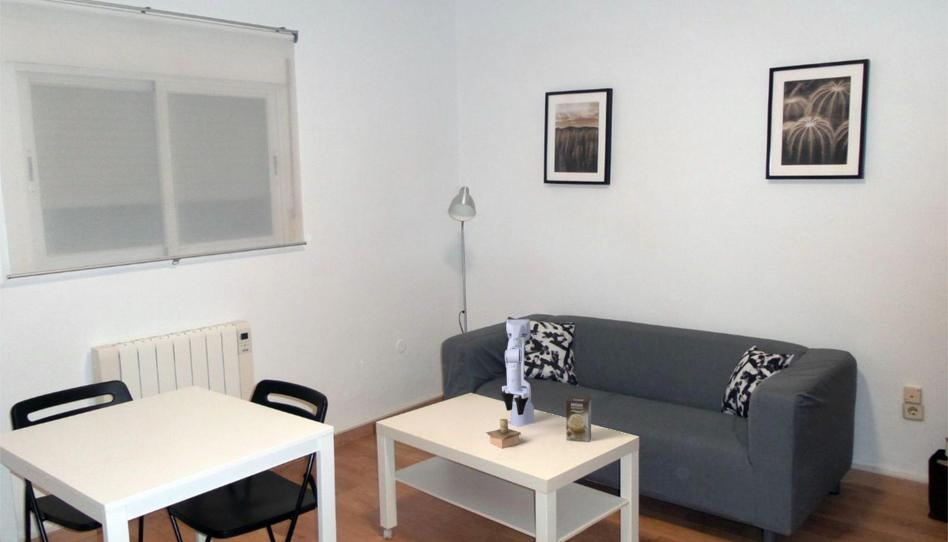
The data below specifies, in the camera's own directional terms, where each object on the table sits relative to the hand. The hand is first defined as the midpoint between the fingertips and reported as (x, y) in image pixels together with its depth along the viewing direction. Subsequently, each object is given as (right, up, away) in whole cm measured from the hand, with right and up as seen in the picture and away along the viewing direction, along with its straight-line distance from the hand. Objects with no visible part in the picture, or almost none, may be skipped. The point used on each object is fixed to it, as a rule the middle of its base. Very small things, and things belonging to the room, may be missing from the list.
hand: (514, 412), depth 303 cm
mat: (-5, -10, +6) cm, 13 cm away
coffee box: (+25, -10, -2) cm, 27 cm away
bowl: (-4, -11, -7) cm, 14 cm away
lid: (-5, -7, -7) cm, 11 cm away
